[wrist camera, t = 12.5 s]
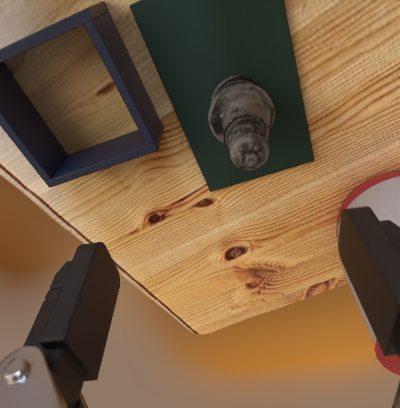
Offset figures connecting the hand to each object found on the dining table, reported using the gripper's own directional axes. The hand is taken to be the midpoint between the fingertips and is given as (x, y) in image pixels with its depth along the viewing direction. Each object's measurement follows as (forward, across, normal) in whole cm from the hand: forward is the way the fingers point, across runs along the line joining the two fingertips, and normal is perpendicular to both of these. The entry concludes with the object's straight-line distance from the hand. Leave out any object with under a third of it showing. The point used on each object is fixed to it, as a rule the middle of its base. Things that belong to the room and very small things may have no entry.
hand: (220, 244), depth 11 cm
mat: (+24, -2, +3) cm, 24 cm away
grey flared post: (+23, -2, +4) cm, 24 cm away
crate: (+24, +13, +1) cm, 27 cm away
